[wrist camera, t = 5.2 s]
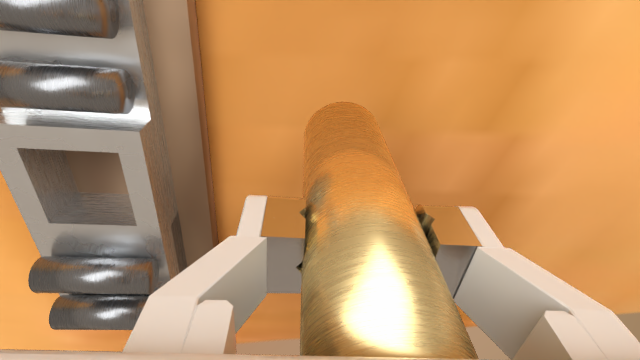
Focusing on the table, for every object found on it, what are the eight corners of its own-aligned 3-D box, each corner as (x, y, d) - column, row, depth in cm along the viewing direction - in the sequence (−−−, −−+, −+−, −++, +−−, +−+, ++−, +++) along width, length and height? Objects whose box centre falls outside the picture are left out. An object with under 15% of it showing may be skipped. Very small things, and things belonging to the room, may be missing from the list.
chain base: (190, -52, 16) (180, -53, 15) (221, 274, 28) (217, 289, 26) (-66, -78, 15) (-99, -82, 14) (77, 271, 27) (66, 286, 25)
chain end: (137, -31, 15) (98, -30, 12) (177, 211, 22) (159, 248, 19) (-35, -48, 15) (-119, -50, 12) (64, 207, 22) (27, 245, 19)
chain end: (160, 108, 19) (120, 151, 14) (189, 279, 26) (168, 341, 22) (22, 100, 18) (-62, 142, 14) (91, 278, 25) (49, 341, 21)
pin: (385, 104, 13) (532, 373, 5) (372, 172, 15) (461, 463, 6) (306, 99, 13) (304, 369, 4) (302, 168, 14) (294, 463, 6)
